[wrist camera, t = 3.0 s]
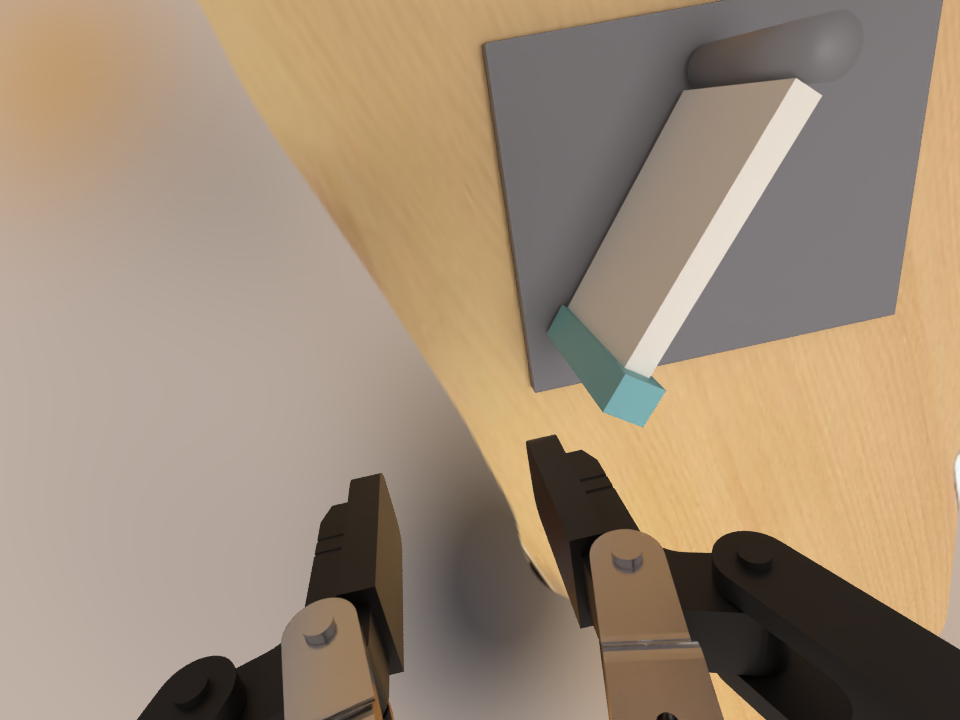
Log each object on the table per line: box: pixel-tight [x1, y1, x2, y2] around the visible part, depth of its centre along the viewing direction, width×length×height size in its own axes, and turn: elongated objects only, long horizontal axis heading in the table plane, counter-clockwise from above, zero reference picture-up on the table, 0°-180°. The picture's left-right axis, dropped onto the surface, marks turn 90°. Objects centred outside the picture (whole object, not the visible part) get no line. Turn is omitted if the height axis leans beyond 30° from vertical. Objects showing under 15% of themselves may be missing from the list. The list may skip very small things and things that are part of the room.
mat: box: [482, 0, 943, 393], centre depth 33 cm, size 20×25×1 cm
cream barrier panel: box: [547, 10, 863, 427], centre depth 27 cm, size 18×2×10 cm, turn 155°
